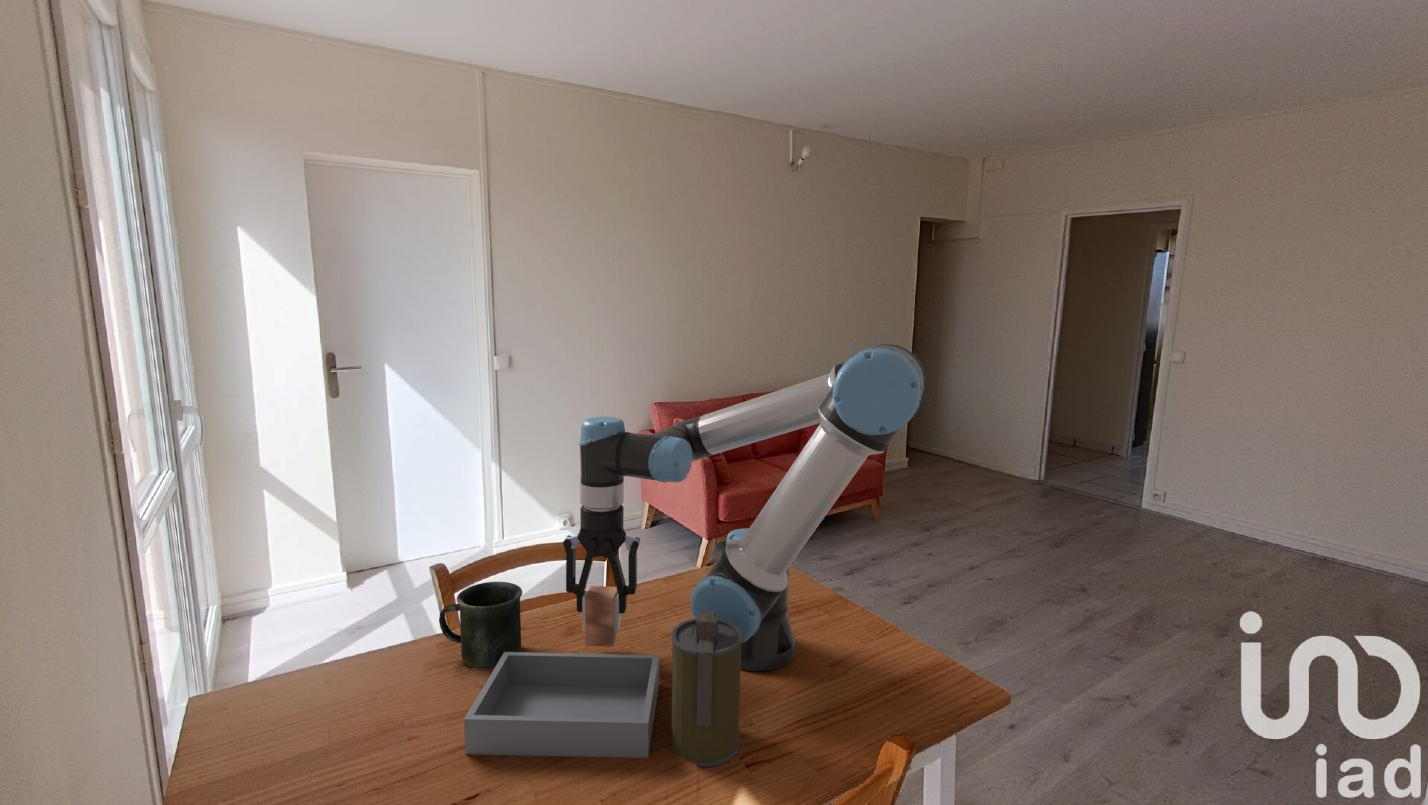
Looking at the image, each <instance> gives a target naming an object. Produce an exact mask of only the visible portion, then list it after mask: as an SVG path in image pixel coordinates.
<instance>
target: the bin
mask: <svg viewBox="0 0 1428 805" xmlns="http://www.w3.org/2000/svg"><path fill="white" fill-rule="evenodd" d="M659 687H660V655H659V654H620V653H619V654H618V653H614V654H613V653H577V652H575V653H574V652H571V653H570V652H525V651H524V652H522V651H521V652H504V653H503V655H502V657H501V658H500V660H499V662H498V663H497V665H496V666H494V668H493V670H492V671H491V674H490V675H489V676H488V679H487V680H486V682H485V684H484V685H483V686H482V688H481V690H480V691H479V693H478V695H477V697H476V698H475V700H474V702H473V704H472V705H471V706H470V709H469V710H468V712H467V713H466V715H465V717H464V718H463V728H464V729H463V731H464V753H465V755H487V756H488V755H489V756H529V757H530V756H531V757H532V756H534V757H537V756H538V757H578V758H579V757H580V758H581V757H583V758H584V757H586V758H629V759H630V758H631V759H634V758H635V759H637V758H638V759H649V756H650V755H649V754H650V748H651V741H652V735H653V734H652V733H653V727H654V726H653V725H654V720H655V715H656V714H655V713H656V707H657V699H658V692H659Z"/></svg>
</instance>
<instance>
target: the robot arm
mask: <svg viewBox="0 0 1428 805" xmlns="http://www.w3.org/2000/svg"><path fill="white" fill-rule="evenodd" d="M923 367H924V366H923V364H922V363H921V362H920V360H919V358H917V356H916V355H915V354H914V353H913V352H912V351H910V350H908V349H907V348H906V347H904V346H901V345H897V344H891V343H890V344H889V343H888V344H887V343H886V344H885V343H884V344H877V345H874V346H872V347H869V348H865V349H863V350H861V351H859V352H857V353H856V354H853V355H852V356H851V357H850V358H848V360H846V361H844V362H841V363H838V364H836V365H834V366H832V369H831V371H830V372H829V373H826V374H823V375H821V376H818V377H815V378H813V379H812V378H811V379H809V380H806V381H803V382H799V383H797V384H793V385H791V386H787V387H784V388H781V389H779V390H775V391H773V392H770V393H767V394H764V395H761V396H758V397H754V398H751V399H748V400H745V401H742V402H739V403H736V404H733V405H731V406H727V407H725V408H721V409H718V410H715V411H711V412H710V413H706V414H704V415H701V416H698V417H694V418H691V419H684V420H682V421H680V422H677V423H675V424H674V425H672V426H669V427H668V428H665V429H662V430H660V431H657V432H654V433H653V434H652V433H651V434H646V433H634V432H630V431H626V427H625V422H624V420H623V419H621V418H619V417H618V418H617V417H614V416H595V417H589V418H586V419H584V421H582V422H581V425H580V439H579V440H580V442H579V449H580V450H579V452H580V455H579V456H580V482H579V485H580V486H579V488H580V492H579V493H580V494H579V496H580V498H579V501H580V505H581V506H580V509H579V510H580V512H579V514H580V520H579V521H580V522H579V524H580V529H579V532H578V533H577V534H576V535H570V534H568V535H566V537H565V538H564V540H563V542H562V545H563V548H564V551H565V555H566V556H565V558H566V560H565V591H566V593H569V594H571V593H572V594H574V595H575V596H576V611H577V613H581V614H582V618H581V620H582V622H581V624H582V626H581V628H582V630H581V632H584V633H585V598H586V595H587V593H588V591H589V590H586V588H587V584H588V580H589V577H590V572H591V570H592V565H593V562H594V558H599V557H602V558H607V560H608V562H609V564H610V568H611V571H612V575H613V580H614V582H615V587H617V591H618V592H617V593H616V596H615V604H614V632H615V633H617V634H618V633H619V632H620V628H621V625H622V624H621V621H622V620H621V617H622V616H621V614H625V613H626V610H627V608H628V606H627V605H628V604H627V599H628V598H627V597H628V596H629V595H635V594H636V591H637V587H638V559H637V558H638V549H639V546H640V543H641V539H640V537H638V536H636V537H634V538H633V537H632V536H627V533H626V531H625V530H624V529H625V528H624V509H625V508H624V505H623V504H624V502H625V501H624V500H625V499H624V498H625V497H624V496H625V494H624V492H625V491H624V487H625V486H624V485H625V484H624V483H625V481H624V480H625V478H624V477H630V478H637V479H642V480H643V479H644V480H649V481H657V482H659V483H660V482H661V483H682V482H683V481H684V480H686V479H687V476H688V474H689V473H690V472H691V468H692V463H693V462H695V461H697V460H698V461H699V460H701V459H705V458H708V457H711V456H713V455H716V454H720V453H723V452H726V451H729V450H734V449H737V448H739V447H740V448H741V447H744V446H747V445H751V444H753V443H757V442H761V441H764V440H767V439H770V438H774V437H777V436H781V435H783V434H788V433H791V432H795V431H797V430H801V429H803V428H808V427H810V426H815V425H818V424H819V425H818V426H817V428H816V429H815V430H814V432H813V434H812V435H811V436H810V438H809V439H808V441H807V442H806V444H804V447H803V448H802V450H801V452H800V453H799V454H798V456H797V457H796V459H794V461H793V463H792V465H791V466H790V467H789V469H788V471H787V472H786V473H785V475H784V477H783V478H782V479H781V481H780V482H779V483H778V485H777V487H776V489H775V490H774V491H773V492H772V495H771V496H770V497H769V498H768V500H767V502H766V503H765V505H764V506H763V507H762V509H761V510H760V512H759V514H758V515H757V516H756V518H755V519H754V521H753V523H752V524H751V525H750V527H749V528H738V529H734V530H731V531H730V532H729V533H728V534H727V535H726V536H727V537H726V542H725V547H724V548H723V550H722V551H721V553H720V554H719V556H718V557H717V559H716V560H715V562H714V564H713V565H712V566H711V568H710V569H709V571H708V572H707V574H706V575H705V576H704V577H703V578H702V579H700V580H699V581H698V582H697V583H696V585H695V587H694V589H693V590H692V591H693V592H692V594H691V595H690V596H691V597H690V610H691V612H692V615H693V616H692V617H693V618H692V619H695V618H697V617H698V612H700V610H707V611H716V613H717V618H719V619H722V620H725V621H728V622H731V623H733V624H734V625H736V626H737V627H738V628H739V629H740V630H741V632H742V634H743V641H742V643H741V670H743V671H750V672H767V671H774V670H778V669H781V668H783V667H785V666H787V665H788V664H790V663H791V662H792V660H793V659H794V658H795V654H796V639H795V635H794V632H793V631H794V630H793V627H792V625H791V622H790V617H789V614H788V603H789V600H788V599H789V578H790V566H791V564H793V562H794V560H795V559H796V558H797V557H798V555H799V553H800V552H801V551H802V549H803V548H804V546H805V545H806V544H807V542H808V541H809V539H810V538H811V537H812V535H813V534H814V532H815V531H816V529H817V528H818V527H819V525H820V524H821V523H822V521H823V520H824V519H825V517H826V515H827V514H828V513H829V511H831V509H832V507H833V506H834V504H835V503H836V502H837V500H838V499H839V497H840V496H841V495H842V493H843V492H844V491H845V489H846V488H847V487H848V485H849V483H851V481H852V479H853V478H854V477H855V475H856V474H857V472H859V470H860V468H861V467H862V466H863V464H864V463H865V461H866V460H867V458H868V457H869V456H871V455H880V454H884V453H885V451H886V450H887V449H888V447H889V445H891V443H892V442H893V440H894V439H895V437H896V436H897V435H898V434H899V432H900V431H901V429H902V428H903V427H904V426H905V424H907V423H909V422H910V420H911V419H912V418H913V417H914V416H915V414H916V413H917V411H918V409H919V407H920V404H921V401H922V397H923V394H924V391H925V388H926V387H925V386H926V375H925V370H924V368H923ZM579 543H580V545H581V546H582V548H583V549H584V550H585V551H586V555H585V558H584V562H583V566H582V569H581V574H580V577H579V581H578V583H576V580H577V578H576V573H577V572H576V570H577V569H576V568H577V567H576V565H577V559H576V558H577V549H576V548H577V547H578V546H579ZM623 544H625V545H626V546H625V548H626V550H627V551H629V552H628V559H627V562H628V585H627V583H626V580H625V576H624V572H623V568H622V564H621V560H620V557H619V556H620V555H619V554H620V553H619V549H620V548H621V546H622V545H623Z"/></svg>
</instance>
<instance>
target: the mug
mask: <svg viewBox="0 0 1428 805" xmlns="http://www.w3.org/2000/svg"><path fill="white" fill-rule="evenodd" d="M522 595H523V590H522V588H521V586H519V585H517V584H515V583H512V582H507V581H488V582H487V581H486V582H482V583H481V582H480V583H477V584H474V585H471V586H469V587H467V588H465V589H463V590H462V591H460V592H459V593H458V594H457V596H456V603H452V604H448V605H445V606H444V608H443V609H442V610H441V611H440V612H439V618H438V622H439V627H440V629H441V632H442V634H443V636H445V638H446V639H447V640H449V641H450V642H453V643H457V644H460V650H461V659H462V661H463V663H464V664H465V665H467V666H468V667H470V668H474V667H475V668H492V667H494V668H495V667H496V665H497V663H498V662H499V660H500V658H501V657H502V655H503V653H504V652H522V628H521V627H522V626H521V622H522V620H521V619H522V618H521V598H522ZM449 612H459V623H460V624H459V627H460V634H456V633H455V632H453V630H451V628H450V627H449V625H448V623H447V620H446V613H449Z"/></svg>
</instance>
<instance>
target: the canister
mask: <svg viewBox="0 0 1428 805" xmlns="http://www.w3.org/2000/svg"><path fill="white" fill-rule="evenodd" d="M670 634H671V635H670V640H671V642H672V650H671V651H672V652H671V653H672V660H671V662H672V663H671V664H672V665H671V666H672V667H671V668H672V669H671V670H672V671H671V672H672V673H671V740H670V741H671V746H672V747H673V749H674V751H675V752H676V754H678V755H679V756H680V757H681V758H684V759H686V760H688V761H690V762H695V763H696V767H701V768H707V767H715V766H716V767H717V766H720V765H723V764H725V763H727V762H729V761H730V760H732V759H733V758H734V757H735V756H736V755H737V753H738V752H739V750H740V746H741V743H740V742H741V740H740V737H739V732H740V731H739V727H740V701H741V700H740V699H741V695H740V694H741V670H742V669H741V643H742V641H743V634H742V632H741V630H740V629H739V628H738V627H737V626H736V625H734V624H733V623H731V622H728V621H725V620H722V619H719V618H717V613H716V611H707V610H700V612H698V617H697V618H695V619H694V618H690V619H687V620H684V621H682V622H680V623H678V624H677V625H676V626H675V627H673V629H672V630H671V633H670Z"/></svg>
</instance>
